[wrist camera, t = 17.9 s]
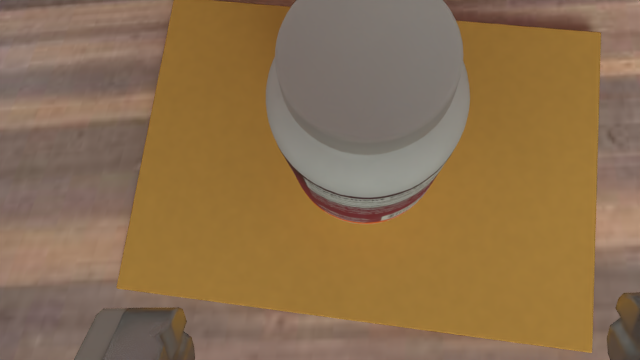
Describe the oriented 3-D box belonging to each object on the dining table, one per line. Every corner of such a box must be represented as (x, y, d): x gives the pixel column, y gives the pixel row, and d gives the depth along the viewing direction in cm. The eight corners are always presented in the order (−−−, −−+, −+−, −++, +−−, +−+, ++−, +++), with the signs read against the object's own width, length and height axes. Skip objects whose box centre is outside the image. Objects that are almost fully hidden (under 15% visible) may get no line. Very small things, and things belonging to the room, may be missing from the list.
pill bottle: (311, 80, 25) (277, -82, 14) (446, 105, 24) (516, -45, 14) (280, 211, 24) (216, 142, 13) (420, 241, 23) (473, 195, 12)
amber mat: (123, 288, 24) (115, 288, 24) (179, 5, 27) (174, -4, 26) (584, 351, 23) (592, 352, 22) (593, 40, 25) (601, 32, 25)
